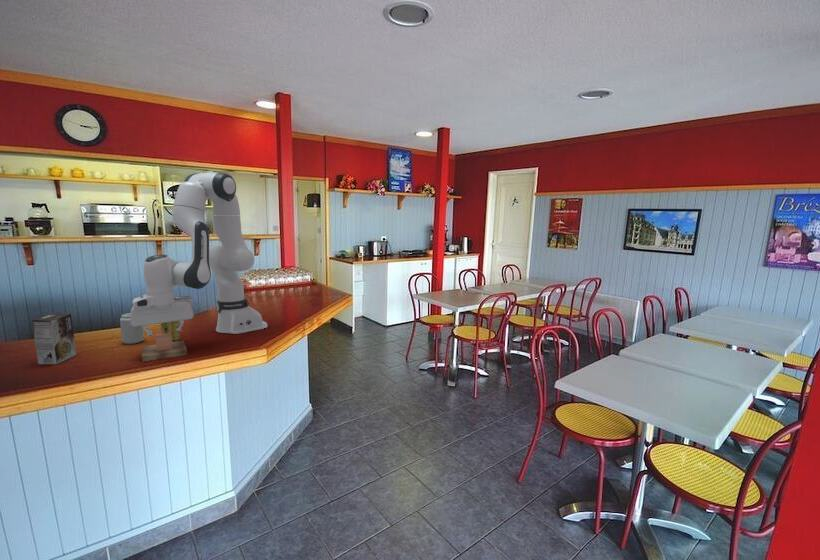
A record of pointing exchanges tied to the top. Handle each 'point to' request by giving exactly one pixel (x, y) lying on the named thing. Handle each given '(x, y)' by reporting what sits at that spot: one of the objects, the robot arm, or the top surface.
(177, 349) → the serving board
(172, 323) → the sauce bottle
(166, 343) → the cube
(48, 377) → the top surface
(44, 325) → the coffee box
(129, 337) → the can
